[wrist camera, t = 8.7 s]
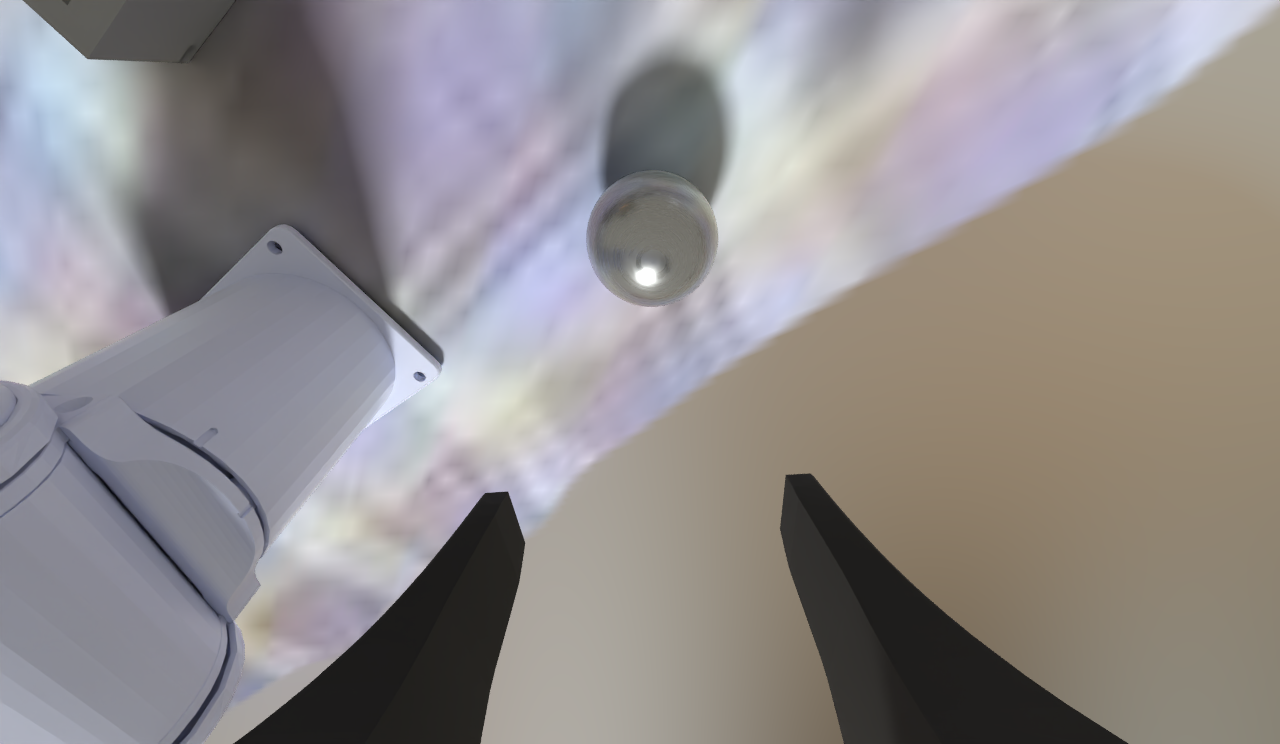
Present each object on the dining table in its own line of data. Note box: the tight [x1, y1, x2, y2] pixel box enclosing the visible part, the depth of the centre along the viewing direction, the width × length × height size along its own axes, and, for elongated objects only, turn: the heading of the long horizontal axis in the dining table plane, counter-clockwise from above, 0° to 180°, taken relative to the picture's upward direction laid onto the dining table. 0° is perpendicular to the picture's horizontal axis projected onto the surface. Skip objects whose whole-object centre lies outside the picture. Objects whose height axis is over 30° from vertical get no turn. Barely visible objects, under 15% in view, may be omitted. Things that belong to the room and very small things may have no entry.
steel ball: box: [586, 170, 718, 307], centre depth 16 cm, size 4×4×4 cm
